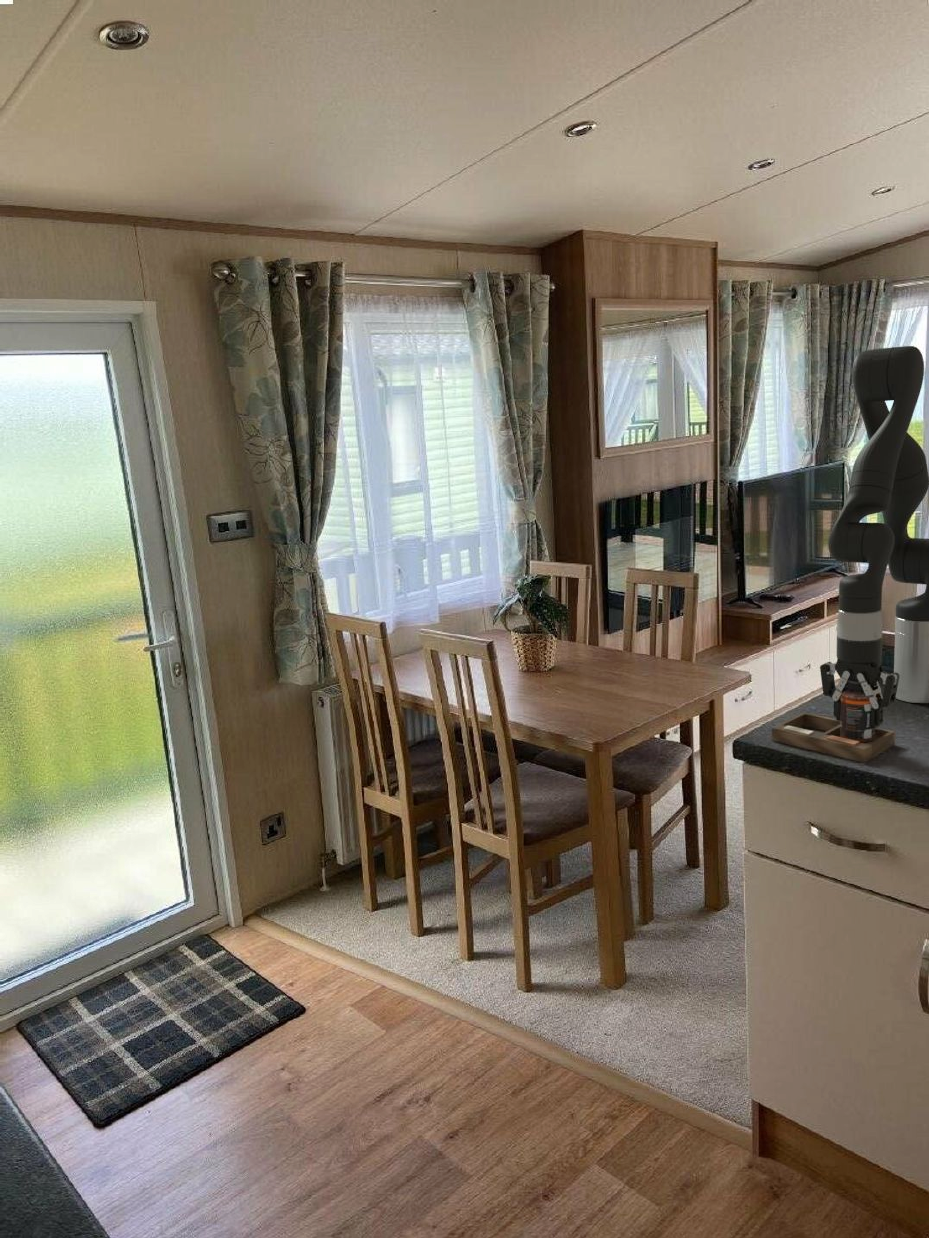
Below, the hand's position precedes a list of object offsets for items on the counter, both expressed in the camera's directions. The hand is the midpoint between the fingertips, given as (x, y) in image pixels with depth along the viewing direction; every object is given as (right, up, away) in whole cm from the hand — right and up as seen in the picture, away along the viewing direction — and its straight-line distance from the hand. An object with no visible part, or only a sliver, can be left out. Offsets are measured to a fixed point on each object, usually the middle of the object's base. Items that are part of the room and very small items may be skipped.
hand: (857, 722), depth 173 cm
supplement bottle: (0, -3, +1) cm, 3 cm away
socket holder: (-3, -4, +4) cm, 6 cm away
